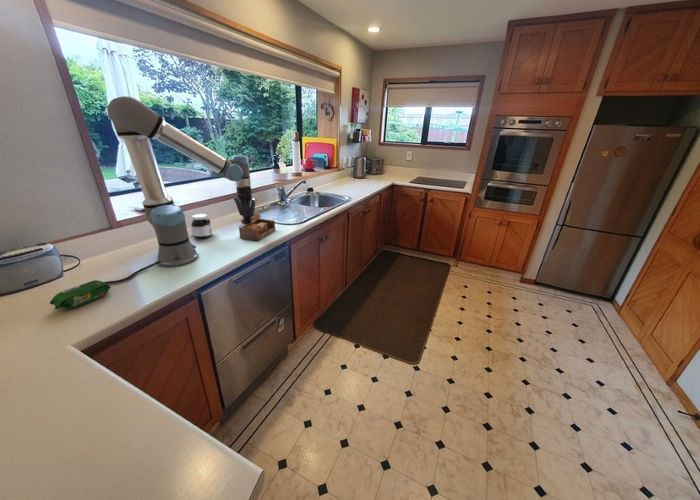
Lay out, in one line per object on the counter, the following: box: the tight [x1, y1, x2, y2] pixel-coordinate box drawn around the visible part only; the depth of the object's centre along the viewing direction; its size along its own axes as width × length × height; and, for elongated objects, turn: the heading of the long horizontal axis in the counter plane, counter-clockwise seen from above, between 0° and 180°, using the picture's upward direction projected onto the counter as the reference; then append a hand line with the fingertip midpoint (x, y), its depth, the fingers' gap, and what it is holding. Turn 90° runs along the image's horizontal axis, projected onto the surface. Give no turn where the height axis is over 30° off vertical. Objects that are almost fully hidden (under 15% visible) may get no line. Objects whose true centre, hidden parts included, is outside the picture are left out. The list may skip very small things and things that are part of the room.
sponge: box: [240, 209, 261, 225], centre depth 176 cm, size 13×8×20 cm
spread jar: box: [189, 213, 213, 240], centre depth 150 cm, size 12×11×12 cm
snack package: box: [49, 279, 112, 310], centre depth 94 cm, size 7×16×5 cm, turn 153°
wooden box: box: [238, 218, 276, 242], centre depth 157 cm, size 18×11×6 cm, turn 164°
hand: (248, 227), depth 158 cm, fingers closed
